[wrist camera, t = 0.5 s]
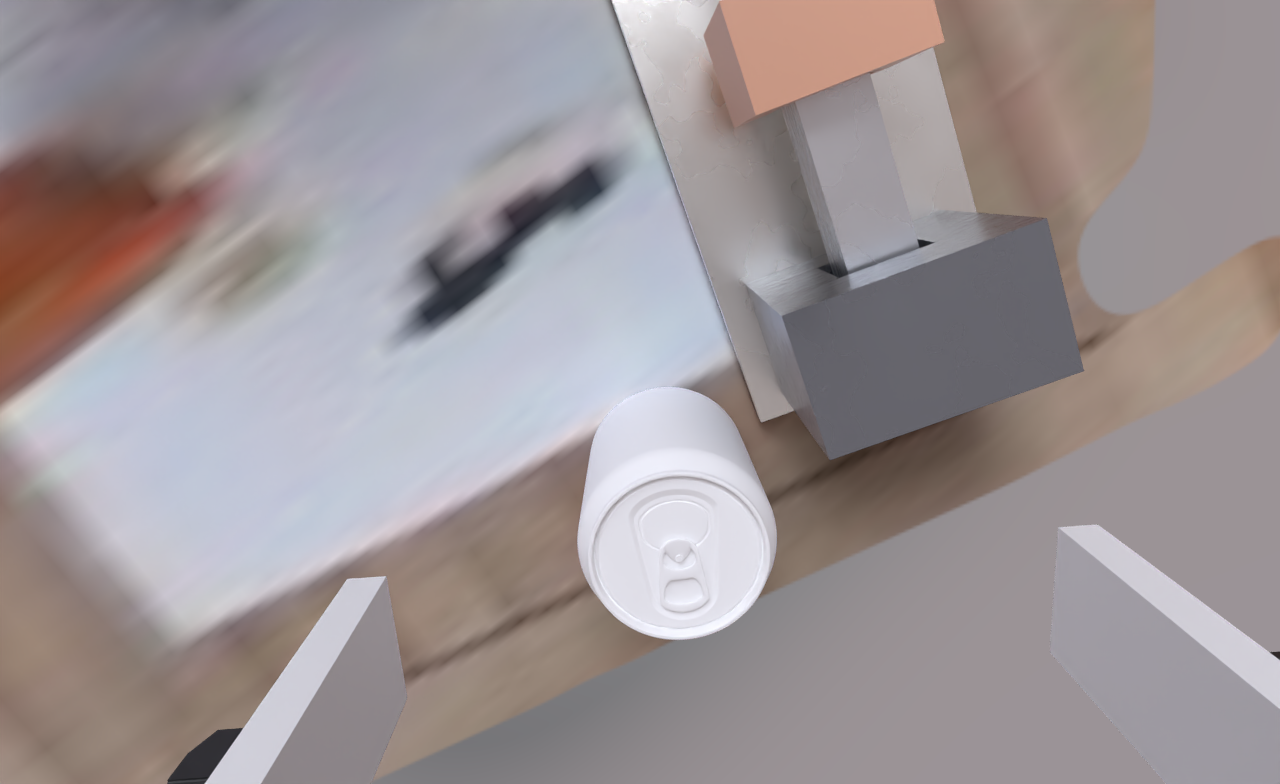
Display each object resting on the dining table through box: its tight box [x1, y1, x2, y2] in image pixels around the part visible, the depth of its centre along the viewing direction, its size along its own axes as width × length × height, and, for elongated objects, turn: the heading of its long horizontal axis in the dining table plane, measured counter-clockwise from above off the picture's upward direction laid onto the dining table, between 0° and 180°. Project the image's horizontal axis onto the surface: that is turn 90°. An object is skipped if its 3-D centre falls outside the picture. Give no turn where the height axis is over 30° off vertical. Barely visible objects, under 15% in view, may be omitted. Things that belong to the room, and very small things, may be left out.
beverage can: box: [577, 387, 777, 640], centre depth 37 cm, size 8×8×12 cm
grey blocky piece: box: [611, 0, 1084, 460], centre depth 34 cm, size 22×13×11 cm, turn 21°
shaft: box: [781, 73, 919, 278], centre depth 32 cm, size 17×3×3 cm, turn 21°
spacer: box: [703, 0, 945, 128], centre depth 31 cm, size 4×7×6 cm, turn 111°
